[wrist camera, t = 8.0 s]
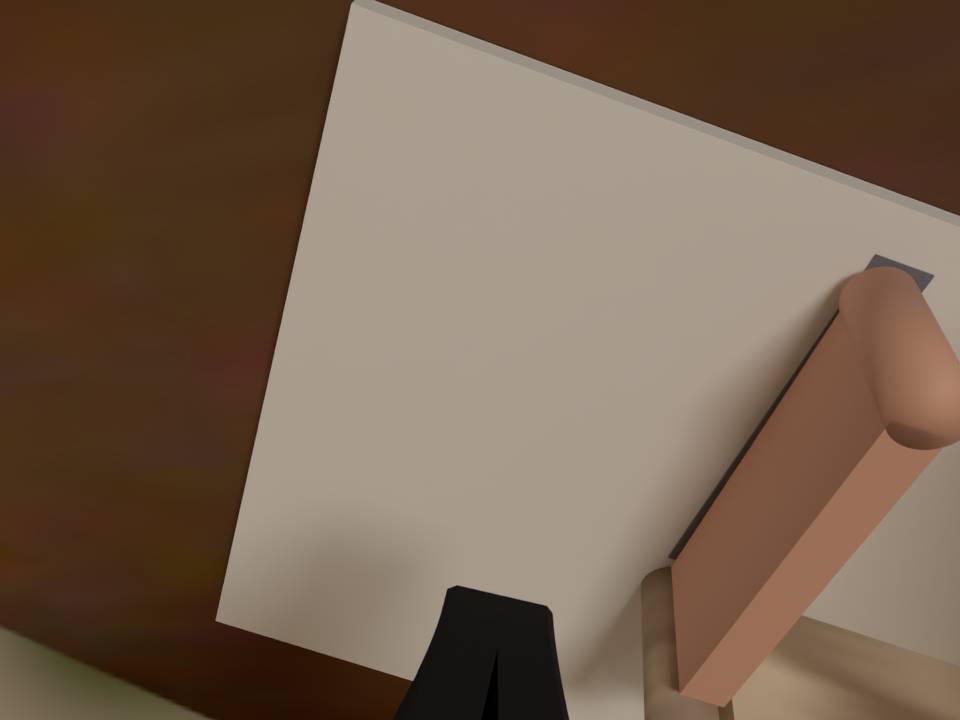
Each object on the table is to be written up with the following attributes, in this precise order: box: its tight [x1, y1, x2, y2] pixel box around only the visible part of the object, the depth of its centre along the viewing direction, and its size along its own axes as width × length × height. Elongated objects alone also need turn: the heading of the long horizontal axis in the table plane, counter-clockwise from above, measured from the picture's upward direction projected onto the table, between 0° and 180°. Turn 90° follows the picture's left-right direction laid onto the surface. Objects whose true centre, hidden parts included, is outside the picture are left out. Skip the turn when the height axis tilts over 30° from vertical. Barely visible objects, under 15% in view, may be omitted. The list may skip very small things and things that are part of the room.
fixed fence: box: [641, 567, 960, 720], centre depth 21 cm, size 10×2×4 cm, turn 72°
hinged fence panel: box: [671, 267, 960, 707], centre depth 17 cm, size 9×1×4 cm, turn 163°
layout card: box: [216, 0, 960, 720], centre depth 21 cm, size 18×21×1 cm
